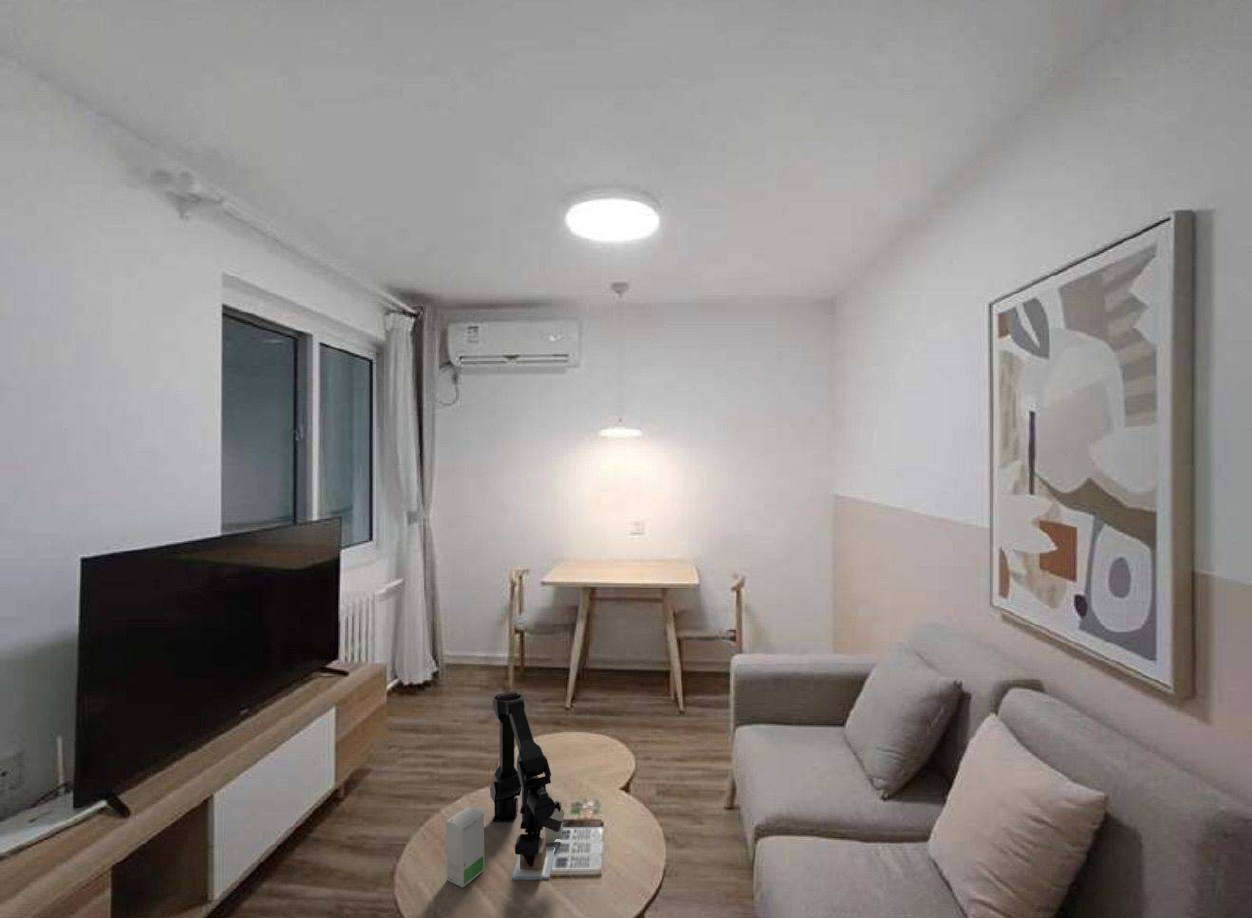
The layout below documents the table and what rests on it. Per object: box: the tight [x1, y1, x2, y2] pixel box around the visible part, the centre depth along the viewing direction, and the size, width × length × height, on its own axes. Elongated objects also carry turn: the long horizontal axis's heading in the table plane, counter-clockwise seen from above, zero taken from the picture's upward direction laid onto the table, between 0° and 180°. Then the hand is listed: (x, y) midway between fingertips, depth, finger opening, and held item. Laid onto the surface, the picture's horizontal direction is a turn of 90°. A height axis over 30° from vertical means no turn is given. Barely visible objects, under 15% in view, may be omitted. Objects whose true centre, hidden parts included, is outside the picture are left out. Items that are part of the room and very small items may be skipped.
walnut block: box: [520, 837, 547, 870], centre depth 155 cm, size 6×6×4 cm
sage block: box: [544, 820, 564, 844], centre depth 168 cm, size 5×5×5 cm
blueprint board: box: [511, 846, 554, 881], centre depth 157 cm, size 10×12×1 cm
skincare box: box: [445, 806, 485, 888], centre depth 153 cm, size 8×7×16 cm
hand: (533, 858), depth 155 cm, fingers closed on walnut block, 6 cm apart
